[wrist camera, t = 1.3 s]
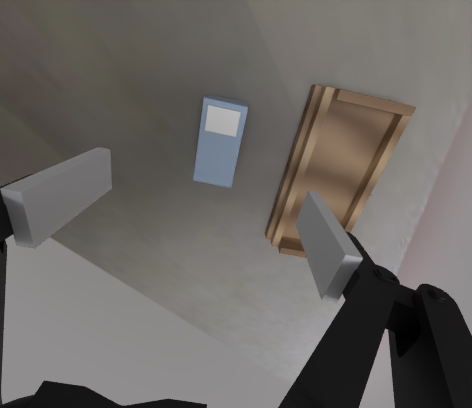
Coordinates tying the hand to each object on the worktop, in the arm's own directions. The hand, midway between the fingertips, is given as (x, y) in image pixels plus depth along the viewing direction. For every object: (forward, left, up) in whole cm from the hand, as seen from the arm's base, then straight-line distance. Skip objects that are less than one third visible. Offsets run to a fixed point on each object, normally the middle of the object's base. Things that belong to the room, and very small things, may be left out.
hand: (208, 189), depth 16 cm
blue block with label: (0, 0, -18) cm, 18 cm away
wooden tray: (+15, -3, -17) cm, 23 cm away
